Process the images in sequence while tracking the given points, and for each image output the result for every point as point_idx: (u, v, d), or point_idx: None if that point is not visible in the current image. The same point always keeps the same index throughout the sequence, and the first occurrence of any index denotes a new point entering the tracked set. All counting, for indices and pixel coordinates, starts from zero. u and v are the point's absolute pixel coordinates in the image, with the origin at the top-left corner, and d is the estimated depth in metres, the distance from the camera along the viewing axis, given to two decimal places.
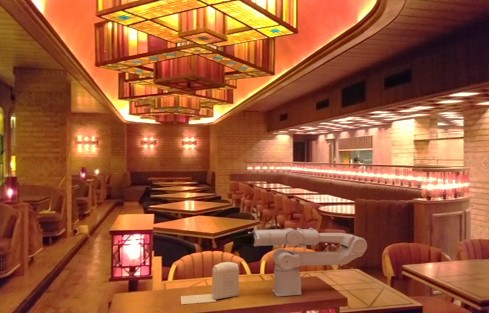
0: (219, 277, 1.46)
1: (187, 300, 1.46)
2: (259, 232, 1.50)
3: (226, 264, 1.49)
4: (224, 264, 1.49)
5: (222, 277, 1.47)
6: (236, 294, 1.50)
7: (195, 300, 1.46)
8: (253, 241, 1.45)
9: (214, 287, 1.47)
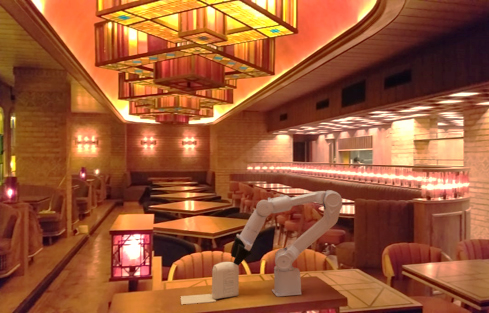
0: (219, 276, 1.47)
1: (187, 300, 1.46)
2: (243, 235, 1.53)
3: (226, 264, 1.49)
4: (224, 264, 1.49)
5: (222, 277, 1.47)
6: (236, 294, 1.50)
7: (195, 300, 1.46)
8: (246, 249, 1.49)
9: (214, 287, 1.47)
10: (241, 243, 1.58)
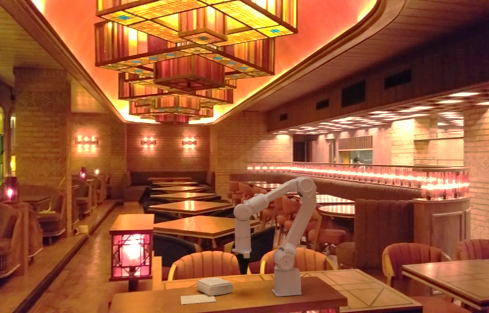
0: (202, 280, 1.57)
1: (187, 300, 1.46)
2: (237, 247, 1.50)
3: None
4: None
5: (205, 280, 1.57)
6: (228, 282, 1.55)
7: (195, 300, 1.46)
8: None
9: (204, 286, 1.53)
10: (243, 257, 1.52)
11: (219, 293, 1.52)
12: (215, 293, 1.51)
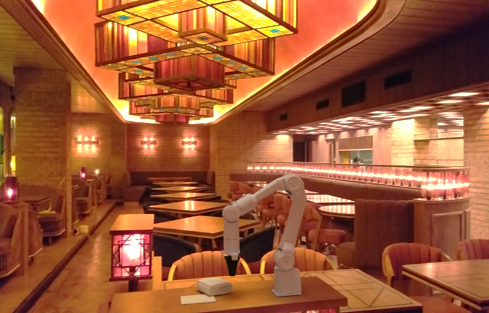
0: (202, 280, 1.57)
1: (187, 300, 1.46)
2: (226, 249, 1.49)
3: None
4: None
5: (205, 280, 1.57)
6: (228, 282, 1.55)
7: (195, 300, 1.46)
8: None
9: (204, 286, 1.53)
10: None
11: (219, 293, 1.52)
12: (215, 293, 1.51)
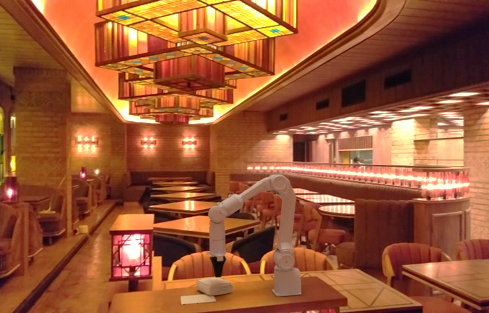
0: (202, 280, 1.57)
1: (187, 300, 1.46)
2: (212, 250, 1.48)
3: None
4: None
5: (205, 280, 1.57)
6: (228, 282, 1.55)
7: (195, 300, 1.46)
8: None
9: (204, 286, 1.53)
10: None
11: (219, 293, 1.52)
12: (215, 293, 1.51)
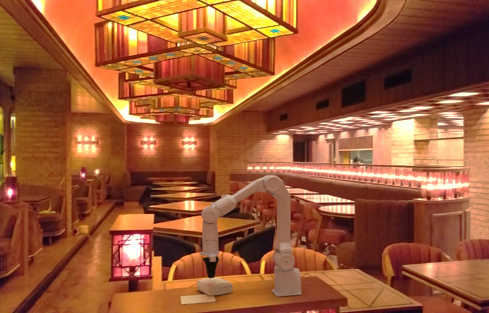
0: (202, 280, 1.57)
1: (187, 300, 1.46)
2: (204, 251, 1.47)
3: None
4: None
5: (205, 280, 1.57)
6: (228, 282, 1.55)
7: (195, 300, 1.46)
8: None
9: (204, 286, 1.53)
10: None
11: (219, 293, 1.52)
12: (215, 293, 1.51)
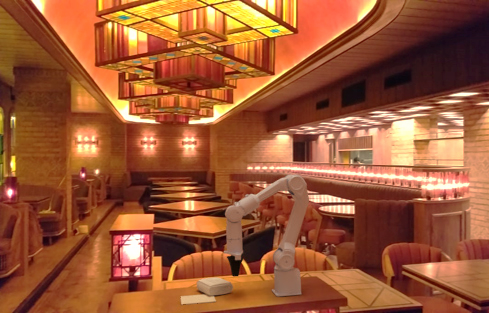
0: (202, 280, 1.57)
1: (187, 300, 1.46)
2: (229, 249, 1.49)
3: None
4: None
5: (205, 280, 1.57)
6: (228, 282, 1.55)
7: (195, 300, 1.46)
8: None
9: (204, 286, 1.53)
10: (235, 259, 1.51)
11: (219, 293, 1.52)
12: (215, 293, 1.51)
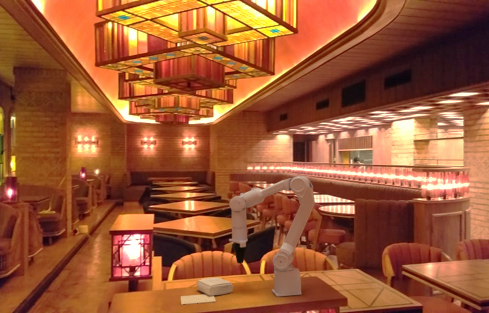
0: (202, 280, 1.57)
1: (187, 300, 1.46)
2: (234, 237, 1.56)
3: None
4: None
5: (205, 280, 1.57)
6: (228, 282, 1.55)
7: (195, 300, 1.46)
8: None
9: (204, 286, 1.53)
10: (240, 246, 1.59)
11: (219, 293, 1.52)
12: (215, 293, 1.51)
